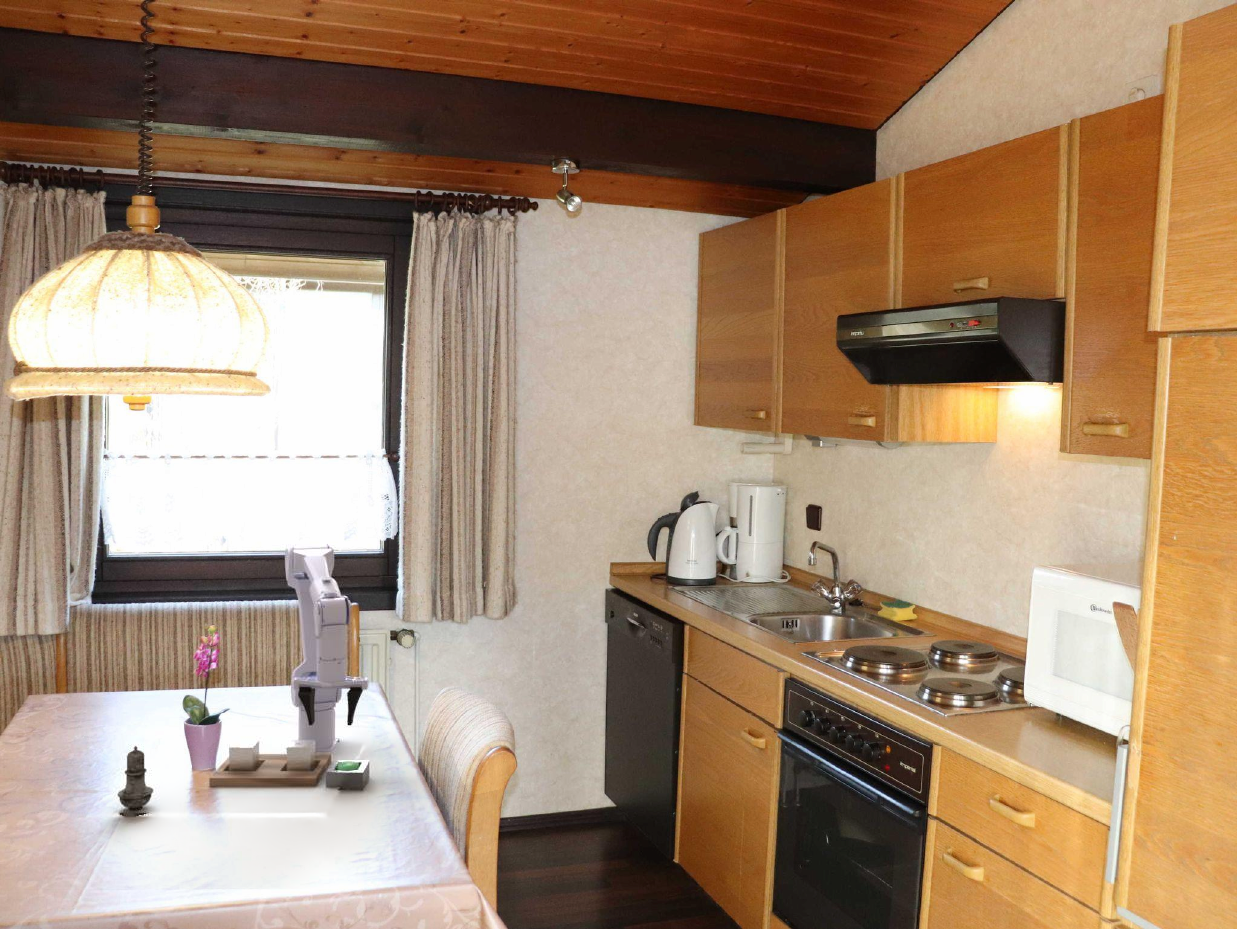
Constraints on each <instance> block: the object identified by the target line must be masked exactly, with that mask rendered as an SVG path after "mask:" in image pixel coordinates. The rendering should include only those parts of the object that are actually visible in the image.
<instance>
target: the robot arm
mask: <svg viewBox="0 0 1237 929" xmlns="http://www.w3.org/2000/svg"><path fill="white" fill-rule="evenodd" d="M284 564H285V578H286V581H287V586H288V587H289V588H290V587H291V588H293V589H295V593H296V596H297V601H298V602H297V603H298V612H299V625H300V635H301V646H302V659H303V662H301V663H300V664H299V665H298V666H297V667H295V668H294V670H293V671H292V674H291V676H290V678H291V679H290V682H291V685H290V686H291V687H290V694H291V696H290V697H291V698H290V699H291V702H292V705H293V706H294V707H295V708H298V740H315V752H330V751H331V752H332V750H333V748H334V747H335V745H336V744H337V743H338V742H339V741H340V737H339V736H336V709H335V708H336V704H339V702H340V701H341V699H342V694H343V692H342V691H343V690H344V689H347V690H348V691H347V693H346V697H347V721H346V722H347V726H352V725H353V722H354V716H355V712H356V709H357V707H358V706H357V705H358V703H359V700H360V698H361V696H362V694H363V692H364V691H365V690H366V691H367V690H369V677H357V676H356V677H355V676H348V675H347V626H349V624H350V622H351V621H350V620H351V606H350V601H349V597H348V596H346V595H342V594H341V591H340V588H339V585H338V582H337V581H336V580H335V579H334V578H333V577H332V574H333V571H334V567H335V552H334V547H333V545H332V544H331V543H327V544H311V545H309V544H307V545H288V546H287V547H286V549H285V552H284ZM342 689H343V690H342Z"/></svg>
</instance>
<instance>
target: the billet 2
mask: <svg viewBox="0 0 1237 929" xmlns="http://www.w3.org/2000/svg"><path fill="white" fill-rule="evenodd" d="M286 754H287V771H314V770H315V754H316V751H315V740H299V739H292V740H291V741H290V743H289V744H288V745H287V746H286Z"/></svg>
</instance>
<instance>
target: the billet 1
mask: <svg viewBox="0 0 1237 929" xmlns="http://www.w3.org/2000/svg"><path fill="white" fill-rule="evenodd" d="M259 754H260V740H259V739H236V740H235V741H234V742H232V744H230V746H229V747H228V757H229V771H257V770H258V769H259Z"/></svg>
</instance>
